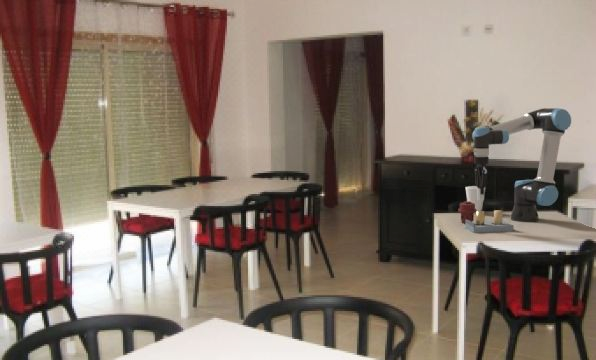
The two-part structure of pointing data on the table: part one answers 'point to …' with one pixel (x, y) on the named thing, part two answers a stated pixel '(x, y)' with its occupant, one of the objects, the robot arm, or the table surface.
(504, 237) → the table surface
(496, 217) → the jig
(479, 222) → the bushing
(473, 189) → the cup
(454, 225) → the table surface
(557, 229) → the table surface
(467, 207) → the mechanical component
